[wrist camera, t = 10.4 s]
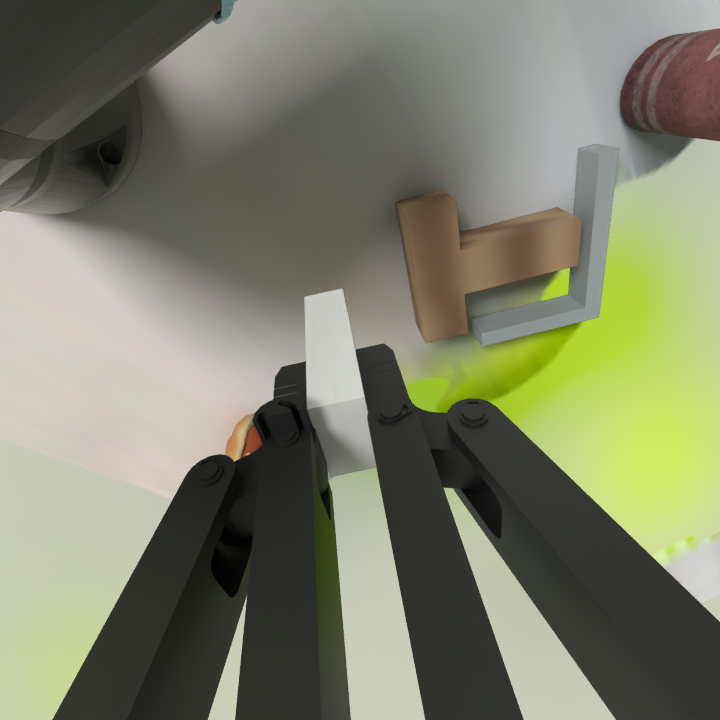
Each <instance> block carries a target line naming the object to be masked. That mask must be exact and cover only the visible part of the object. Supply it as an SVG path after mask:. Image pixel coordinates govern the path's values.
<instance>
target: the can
mask: <svg viewBox="0 0 720 720" xmlns="http://www.w3.org/2000/svg"><path fill="white" fill-rule="evenodd" d="M620 104H621V109H622V113H623V117H624V119H625V120H626V121H627V123H628V124H629V125H630V126H631V127H633V128H635V129H637V130H639V131H645V132H653V133H661V134H668V135H676V136H684V137H692V138H700V139H708V140H715V141H720V29H713V30H706V31H699V32H692V33H685V34H678V35H672V36H669V37H666V38H663V39H660V40H658V41H657V42H655V43H654V44H653V45H651V46H650V47H649V48H647V49H646V50H645V51H644V52H643V53H642V54H641V56H640V57H639V58H638V59H637V60H636V61H635V62H634V64H633V65H632V67H631V69H630V71H629V72H628V74H627V76H626V78H625V81H624V84H623V87H622V90H621V103H620Z"/></svg>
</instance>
